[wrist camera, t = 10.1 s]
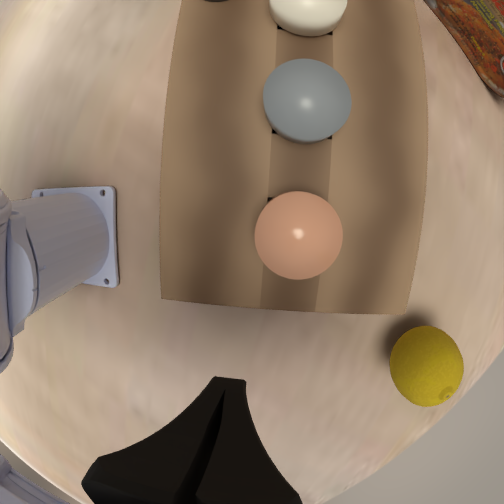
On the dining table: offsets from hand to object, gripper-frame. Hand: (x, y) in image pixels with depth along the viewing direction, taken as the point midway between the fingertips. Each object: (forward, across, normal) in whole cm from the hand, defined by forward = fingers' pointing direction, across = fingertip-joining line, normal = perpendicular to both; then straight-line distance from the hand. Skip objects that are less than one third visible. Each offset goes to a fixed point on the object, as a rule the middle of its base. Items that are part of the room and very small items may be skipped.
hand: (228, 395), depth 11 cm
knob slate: (+10, -2, -13) cm, 17 cm away
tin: (+11, -18, -25) cm, 32 cm away
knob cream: (+10, -2, -20) cm, 23 cm away
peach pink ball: (+10, -2, -6) cm, 12 cm away
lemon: (+11, -14, +3) cm, 18 cm away
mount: (+10, -2, -13) cm, 17 cm away
